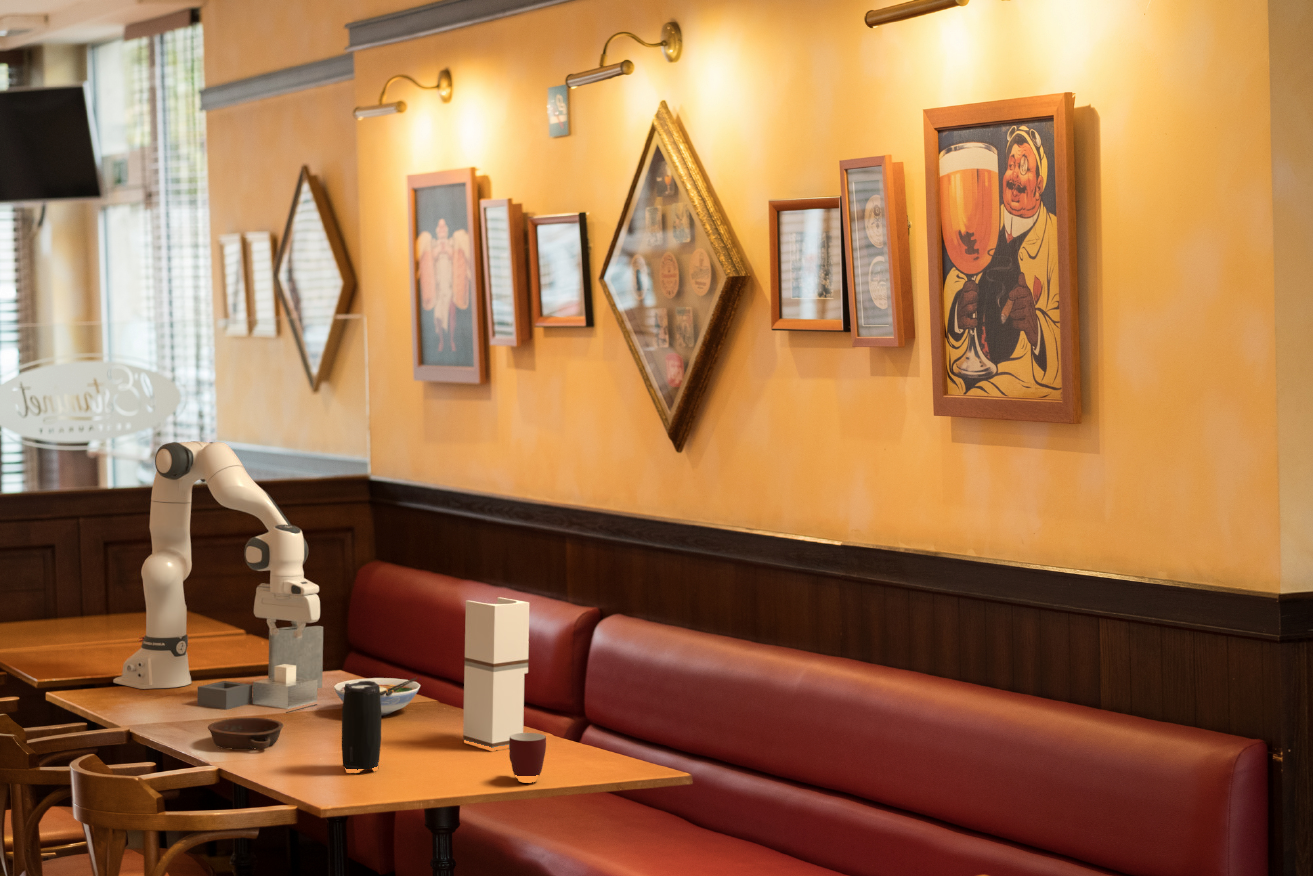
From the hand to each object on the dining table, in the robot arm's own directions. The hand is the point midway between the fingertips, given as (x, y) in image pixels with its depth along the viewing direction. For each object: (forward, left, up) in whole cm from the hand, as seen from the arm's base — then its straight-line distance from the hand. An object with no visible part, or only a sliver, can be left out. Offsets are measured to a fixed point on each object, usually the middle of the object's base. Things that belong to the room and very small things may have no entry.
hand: (285, 636), depth 401 cm
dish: (+21, -39, -19) cm, 48 cm away
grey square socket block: (-12, -10, -19) cm, 25 cm away
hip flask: (-13, +20, -19) cm, 31 cm away
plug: (0, 0, -18) cm, 18 cm away
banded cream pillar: (+72, -8, -19) cm, 75 cm away
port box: (0, 0, -19) cm, 19 cm away
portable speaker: (+60, -45, -19) cm, 77 cm away
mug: (+96, -34, -19) cm, 104 cm away
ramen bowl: (+26, +6, -19) cm, 33 cm away
